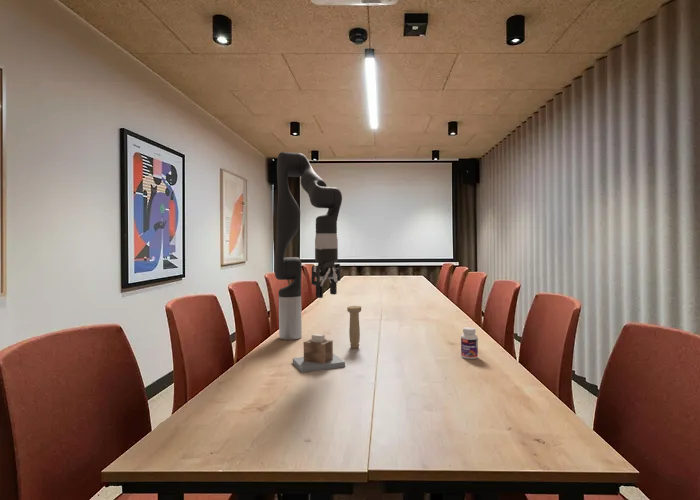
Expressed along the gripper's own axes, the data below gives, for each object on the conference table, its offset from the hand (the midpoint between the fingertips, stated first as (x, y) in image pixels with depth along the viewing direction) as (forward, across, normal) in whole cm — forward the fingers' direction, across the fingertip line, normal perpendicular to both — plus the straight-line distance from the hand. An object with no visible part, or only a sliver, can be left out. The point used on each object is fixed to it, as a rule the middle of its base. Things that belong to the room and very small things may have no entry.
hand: (326, 295), depth 136 cm
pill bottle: (+21, -23, +42) cm, 52 cm away
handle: (+22, -18, +1) cm, 28 cm away
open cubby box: (+20, +7, +1) cm, 21 cm away
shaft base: (+21, +7, +1) cm, 22 cm away
